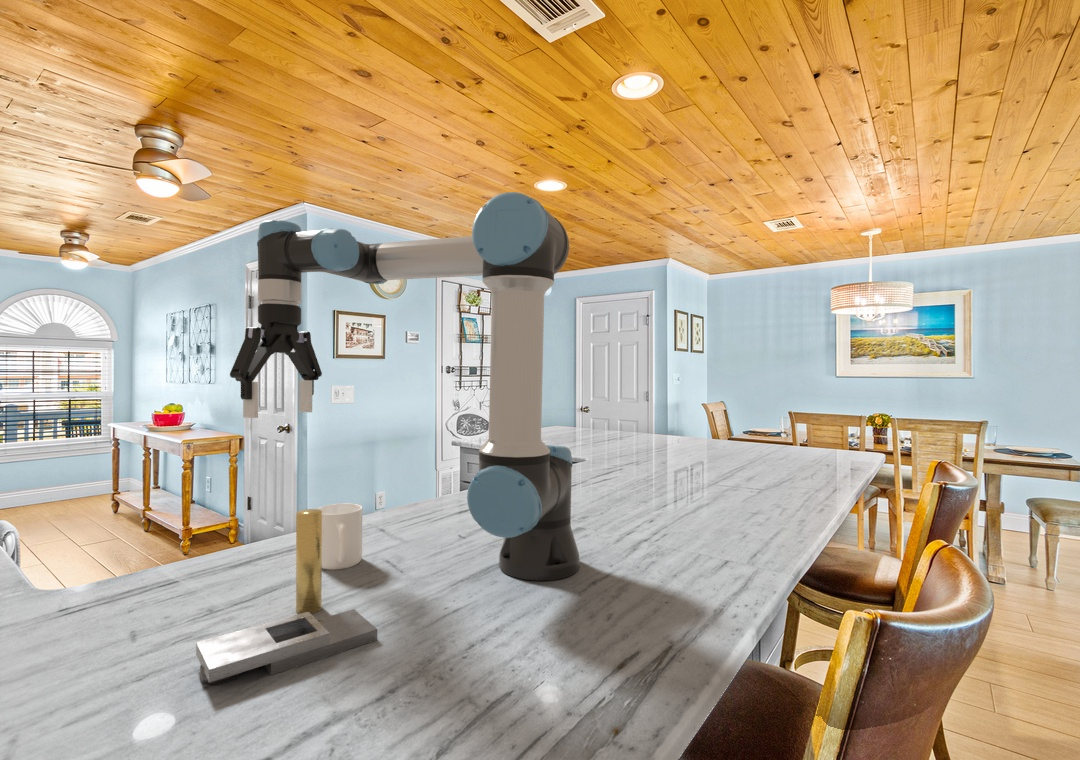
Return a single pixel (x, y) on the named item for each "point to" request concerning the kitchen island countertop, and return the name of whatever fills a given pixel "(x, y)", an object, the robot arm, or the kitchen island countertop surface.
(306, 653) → the slotted metal plate
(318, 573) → the pin
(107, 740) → the kitchen island countertop surface
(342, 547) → the mug
